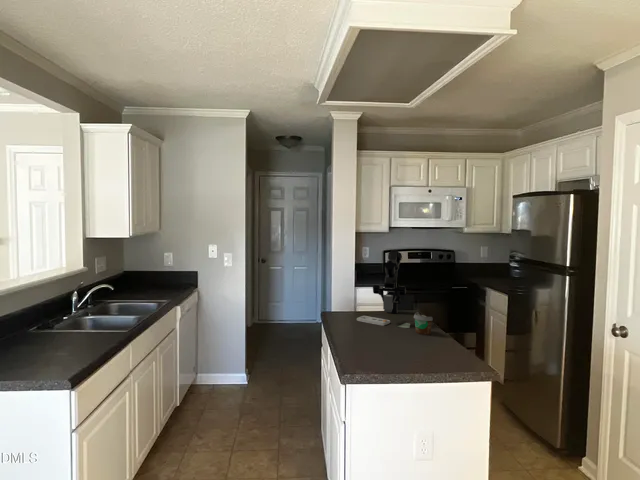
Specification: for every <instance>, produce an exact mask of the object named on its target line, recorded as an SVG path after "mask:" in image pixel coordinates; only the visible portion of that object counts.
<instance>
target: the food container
mask: <svg viewBox="0 0 640 480" xmlns="http://www.w3.org/2000/svg"><path fill="white" fill-rule="evenodd" d="M413 319H414V323H415V324H414V326H415V334H418V335H422V336H431V332H432V325H433V324H432V323H433V316H427V315H425V314H421V313H420V312H418V311H417V312H414V315H413Z"/></svg>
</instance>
